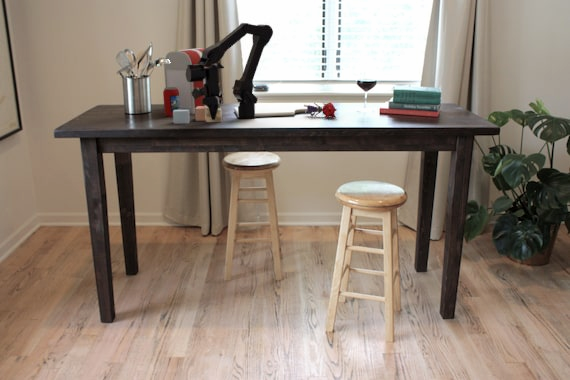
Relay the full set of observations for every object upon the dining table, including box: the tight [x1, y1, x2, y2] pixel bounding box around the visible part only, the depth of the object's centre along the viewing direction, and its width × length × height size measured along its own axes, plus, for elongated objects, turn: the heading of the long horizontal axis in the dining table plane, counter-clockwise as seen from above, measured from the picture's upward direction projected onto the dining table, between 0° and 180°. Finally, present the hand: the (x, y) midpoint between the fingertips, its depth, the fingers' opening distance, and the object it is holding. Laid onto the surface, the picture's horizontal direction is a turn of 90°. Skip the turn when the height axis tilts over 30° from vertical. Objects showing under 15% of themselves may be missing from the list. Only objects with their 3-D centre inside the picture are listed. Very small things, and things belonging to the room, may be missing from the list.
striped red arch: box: [163, 47, 216, 115], centre depth 277 cm, size 16×18×27 cm
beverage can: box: [162, 87, 180, 118], centre depth 264 cm, size 7×7×12 cm
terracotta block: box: [194, 106, 207, 122], centre depth 256 cm, size 6×4×5 cm, turn 178°
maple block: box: [205, 107, 223, 123], centre depth 251 cm, size 6×4×5 cm, turn 89°
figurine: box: [303, 102, 338, 119], centre depth 257 cm, size 6×8×15 cm
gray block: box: [172, 110, 191, 124], centre depth 249 cm, size 6×4×5 cm, turn 88°
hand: (214, 118), depth 251 cm, fingers closed on maple block, 4 cm apart
